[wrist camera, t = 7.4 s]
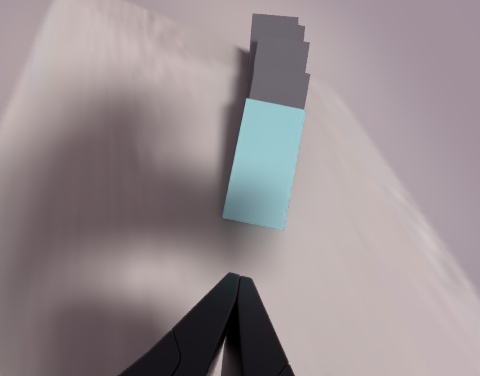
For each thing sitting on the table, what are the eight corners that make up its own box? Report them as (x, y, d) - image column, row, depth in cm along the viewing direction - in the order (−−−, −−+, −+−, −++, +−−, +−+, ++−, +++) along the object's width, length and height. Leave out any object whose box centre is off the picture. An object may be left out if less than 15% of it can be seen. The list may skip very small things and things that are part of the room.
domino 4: (284, 230, 20) (306, 110, 21) (221, 217, 20) (246, 98, 21) (280, 228, 22) (301, 117, 22) (223, 217, 22) (245, 106, 22)
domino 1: (295, 102, 26) (298, 17, 28) (246, 97, 26) (252, 13, 28) (291, 109, 27) (294, 29, 29) (245, 105, 27) (251, 25, 29)
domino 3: (291, 182, 22) (310, 74, 23) (234, 171, 22) (255, 63, 23) (287, 184, 23) (305, 82, 24) (234, 174, 23) (254, 73, 24)
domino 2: (294, 141, 24) (309, 42, 25) (242, 132, 24) (259, 33, 25) (290, 145, 25) (305, 52, 26) (241, 137, 25) (257, 44, 26)
